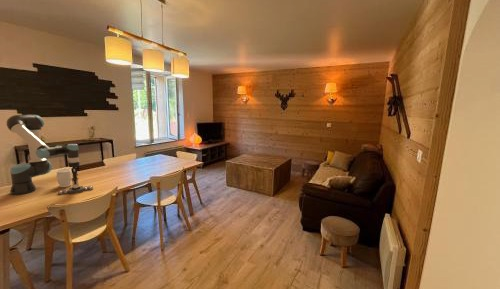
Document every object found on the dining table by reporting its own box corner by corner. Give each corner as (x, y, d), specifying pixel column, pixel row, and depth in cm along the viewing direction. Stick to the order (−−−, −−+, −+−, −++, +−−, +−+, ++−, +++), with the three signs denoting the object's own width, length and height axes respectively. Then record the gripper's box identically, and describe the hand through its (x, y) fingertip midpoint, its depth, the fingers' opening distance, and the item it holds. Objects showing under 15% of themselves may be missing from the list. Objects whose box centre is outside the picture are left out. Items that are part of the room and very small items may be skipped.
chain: (58, 192, 186) (58, 189, 185) (92, 187, 200) (92, 184, 200) (58, 195, 178) (57, 192, 178) (92, 190, 193) (92, 187, 192)
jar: (54, 188, 193) (53, 172, 191) (61, 184, 203) (60, 168, 200) (68, 187, 196) (67, 171, 194) (74, 183, 206) (73, 168, 203)
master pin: (72, 190, 190) (71, 177, 188) (79, 189, 193) (78, 177, 191) (72, 192, 186) (71, 179, 184) (79, 191, 189) (78, 178, 187)
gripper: (68, 159, 192) (70, 181, 195) (67, 165, 173) (69, 190, 176) (79, 158, 197) (80, 180, 200) (79, 164, 178) (81, 189, 181)
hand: (75, 185), depth 188 cm, fingers open, 13 cm apart
